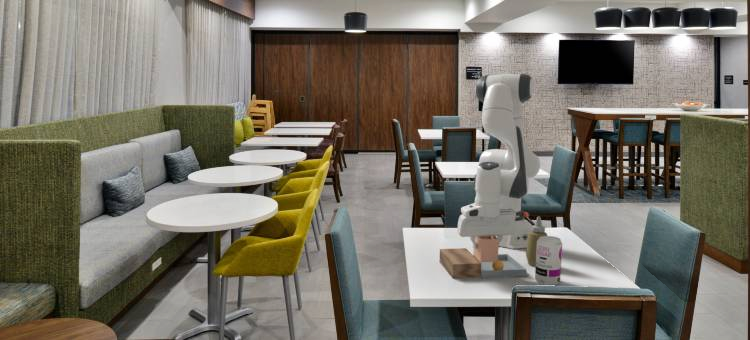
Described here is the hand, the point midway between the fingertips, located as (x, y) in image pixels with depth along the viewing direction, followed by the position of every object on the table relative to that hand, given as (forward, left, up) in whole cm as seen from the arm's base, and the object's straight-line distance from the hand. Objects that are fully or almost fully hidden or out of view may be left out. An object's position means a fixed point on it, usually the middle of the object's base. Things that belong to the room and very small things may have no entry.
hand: (485, 247), depth 201 cm
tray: (-5, -4, -9) cm, 11 cm away
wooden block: (+8, -5, -9) cm, 13 cm away
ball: (-5, 0, -7) cm, 8 cm away
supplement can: (-18, +11, -9) cm, 23 cm away
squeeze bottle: (-22, -7, -9) cm, 25 cm away
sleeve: (0, 0, -4) cm, 4 cm away
